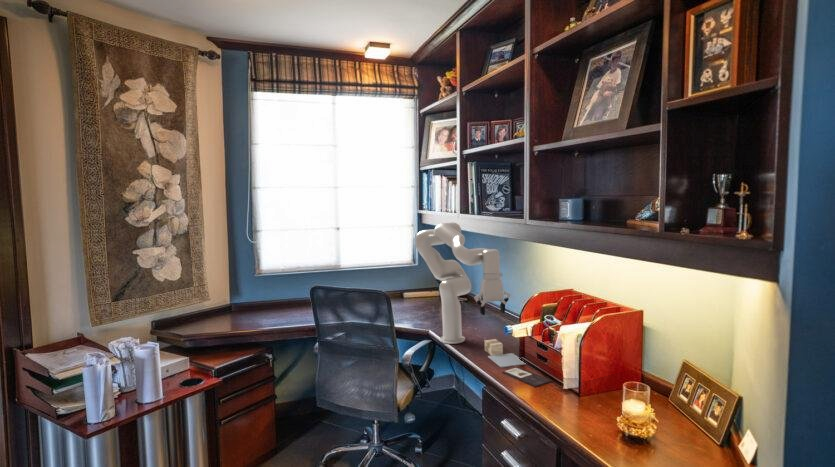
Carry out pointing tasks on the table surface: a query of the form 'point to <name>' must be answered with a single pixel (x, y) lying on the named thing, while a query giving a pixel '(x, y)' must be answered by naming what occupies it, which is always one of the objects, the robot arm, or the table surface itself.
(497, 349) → the maple block
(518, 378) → the chocolate bar
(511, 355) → the desk mat
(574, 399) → the table surface
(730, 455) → the table surface
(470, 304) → the table surface
